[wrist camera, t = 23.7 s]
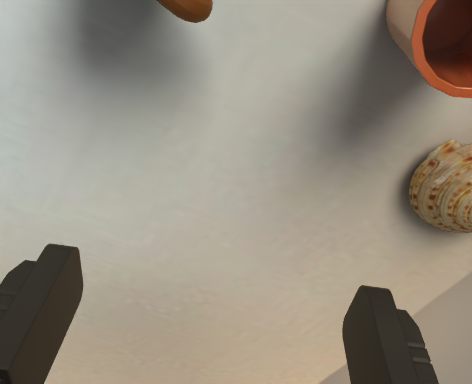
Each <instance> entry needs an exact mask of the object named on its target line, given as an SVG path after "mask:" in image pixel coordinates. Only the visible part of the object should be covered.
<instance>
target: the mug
mask: <svg viewBox="0 0 472 384" xmlns="http://www.w3.org/2000/svg"><path fill="white" fill-rule="evenodd" d="M157 1H158V2H159V3H160V4H161V5H163V6H164V7H165V8H166V9H167V10H169V11H170V12H172V13H173V14H174V15H176V16H177V17H179V18H181V19H183V20H185V21H188V22H194V23H197V22H201V21H204V20H205V19H207V18H208V17H209V15H210V13H211V10H212V4H213V3H212V0H157Z"/></svg>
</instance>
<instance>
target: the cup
mask: <svg viewBox="0 0 472 384" xmlns="http://www.w3.org/2000/svg"><path fill="white" fill-rule="evenodd" d="M386 22H387V27H388V30H389V33H390V35H391V37H392V38H393V40H394V41H395V42H396V44H397V45H398V46H399V48H400V49H401V50H402V51H403V53H404V54H405V55H406V56H407V58H408V59H409V60H410V62H411V63H412V64H413V65H414V67H415V68H416V69H417V70H418V72H419V73H420V74H421V75H422V77H423V78H424V79H425V80H426V82H427V83H428V84H429V85H430V86H432V87H434V88H436V89H438V90H440V91H442V92H444V93H445V94H447V95H449V96H452V97H465V98H472V0H388V1H387V6H386Z"/></svg>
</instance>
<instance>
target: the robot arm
mask: <svg viewBox="0 0 472 384" xmlns="http://www.w3.org/2000/svg"><path fill="white" fill-rule="evenodd" d="M82 292H83V277H82V269H81V261H80V254H79V249H78V248H77V247H72V246H64V245H57V244H48V245H47V246H46V247H45V248H44V250H43V251H42V253H41V255H40V256H39V258H38V260H37V261H29V260H25V261H23V262H22V263H21V264H19V265H18V266H17V267H15V268H14V269H13V270H12V271H10V272H9V273H8V274H7V275H6V277H5V278H4V280H3V281H2V283H1V284H0V384H44V382H45V380H46V378H47V375H48V373H49V371H50V369H51V366H52V364H53V362H54V360H55V357H56V355H57V353H58V351H59V348H60V346H61V344H62V342H63V339H64V337H65V335H66V333H67V331H68V328H69V326H70V324H71V322H72V319H73V317H74V315H75V313H76V310H77V308H78V306H79V303H80V301H81V297H82ZM342 333H343V342H344V348H345V353H346V359H347V364H348V369H349V375H350V381H351V384H439V383H438V380H437V377H436V374H435V371H434V369H433V366H432V364H430V361H431V360H430V357H429V355H428V352H427V349H425V343H424V341H423V338H422V335H421V332H420V330H419V327H418V326H417V324H416V323H415V322H414V320H413V319H412V318H411V316H410V315H409V314H408V313H407V311H406V310H399V309H397V308H396V305H395V302H394V299H393V296H392V293H391V291H390V290H389V289H386V288H378V287H371V286H364V285H362V286H360V287H359V289H358V291H357V293H356V295H355V297H354V299H353V301H352V303H351V305H350V307H349V309H348V311H347V313H346V315H345V318H344V321H343V330H342Z"/></svg>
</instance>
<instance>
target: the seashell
mask: <svg viewBox="0 0 472 384" xmlns="http://www.w3.org/2000/svg"><path fill="white" fill-rule="evenodd" d="M409 197H410V203H411V205H412V208H413V209H414V211H415V212H416V213H417V214H418V215H419V216H420V217H421V218H422V219H423V220H424V221H426V222H427V223H428V224H430V225H432V226H434V227H436V228H439V229H442V230H446V231H452V232H472V144H468V145H464V146H462V145H461V144H460V143H458V142H457V141H455V140H454V139H451V140H449V141H447V142H445V143H443V144H442V145H440V146H438V147H437V148H436V149H435V151H433V152H431V153H430V154H429V156H428V157H427V159H426V160H425V161H424V162H422V163H421V164H420V165H419V167H418V168H417V169H416V171H415V173H414V175H413V177H412V179H411V183H410V187H409Z"/></svg>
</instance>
